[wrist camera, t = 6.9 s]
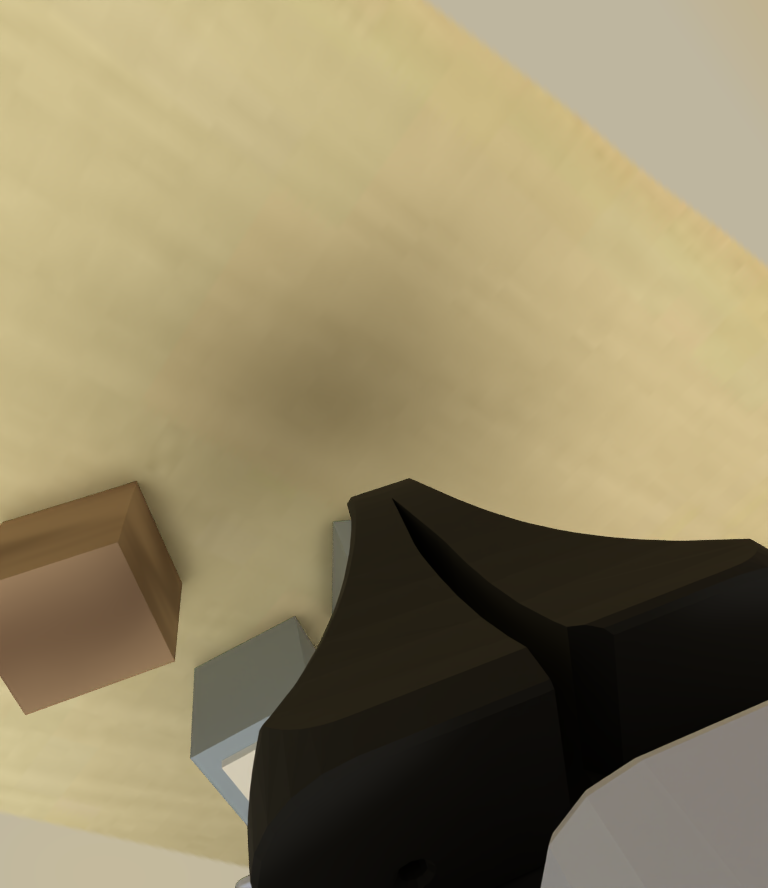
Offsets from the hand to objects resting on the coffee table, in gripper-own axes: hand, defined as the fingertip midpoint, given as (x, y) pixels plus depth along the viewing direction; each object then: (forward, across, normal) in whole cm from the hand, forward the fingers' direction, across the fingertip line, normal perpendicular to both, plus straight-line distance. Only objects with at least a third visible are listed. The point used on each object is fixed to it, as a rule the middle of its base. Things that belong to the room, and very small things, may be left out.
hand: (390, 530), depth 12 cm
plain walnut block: (+10, +9, +4) cm, 14 cm away
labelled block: (+10, +5, +12) cm, 16 cm away
